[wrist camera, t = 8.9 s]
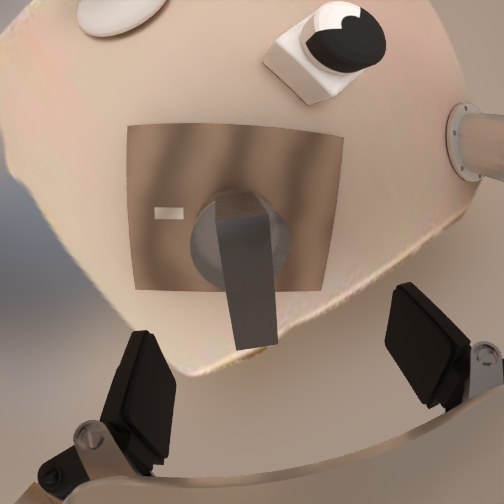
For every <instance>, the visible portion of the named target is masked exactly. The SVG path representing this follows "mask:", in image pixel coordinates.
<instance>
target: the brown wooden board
mask: <svg viewBox="0 0 504 504" xmlns="http://www.w3.org/2000/svg"><path fill="white" fill-rule="evenodd" d="M343 140H344V137H338V136H332V135H326V134H320V133H314V132H307V131H299V130H292V129H283V128H273V127H263V126H250V125H233V124H200V123H183V124H151V125H135V126H128V129H127V204H128V222H129V236H130V247H131V257H132V266H133V274H134V282H135V289H137V290H164V291H206V292H226V290H225V289H221V288H219V287H216V286H214V285H213V284H211V283H210V282H208V281H207V280H206V279H205V278H203V277H202V276H201V274H200V273H199V272H198V270H197V269H196V267H195V265H194V263H193V261H192V257H191V252H190V239H191V234H192V230H193V227H194V223H195V220H196V216H197V214H198V212H199V210H200V208H201V207H202V205H203V204H204V203H205V202H206V201H207V200H208V199H209V198H210V197H211V196H213V195H214V194H216V193H218V192H220V191H223V190H226V189H231V188H244V189H249V190H251V191H254V192H256V193H258V194H260V195H261V196H263V197H264V198H265V199H266V200H267V201H268V202H269V203H270V204H271V205H272V206H273V208H274V209H275V210H276V211H277V212H278V213H279V215H280V216H281V217H282V219H283V220H284V222H285V224H286V226H287V229H288V232H289V237H290V249H289V254H288V257H287V260H286V262H285V264H284V266H283V268H282V269H281V271H280V272H279V273H278V274H277V275H276V276H275V277H274V288H275V292H284V291H321V289H322V284H323V279H324V274H325V269H326V263H327V258H328V252H329V247H330V241H331V235H332V228H333V222H334V216H335V209H336V202H337V194H338V187H339V178H340V170H341V161H342V151H343Z"/></svg>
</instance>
